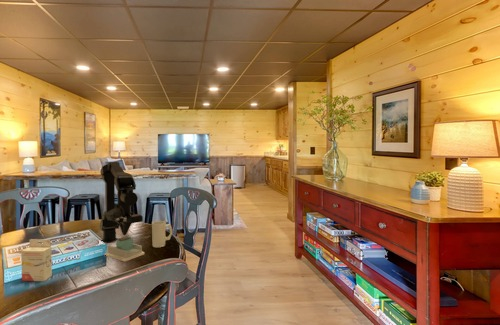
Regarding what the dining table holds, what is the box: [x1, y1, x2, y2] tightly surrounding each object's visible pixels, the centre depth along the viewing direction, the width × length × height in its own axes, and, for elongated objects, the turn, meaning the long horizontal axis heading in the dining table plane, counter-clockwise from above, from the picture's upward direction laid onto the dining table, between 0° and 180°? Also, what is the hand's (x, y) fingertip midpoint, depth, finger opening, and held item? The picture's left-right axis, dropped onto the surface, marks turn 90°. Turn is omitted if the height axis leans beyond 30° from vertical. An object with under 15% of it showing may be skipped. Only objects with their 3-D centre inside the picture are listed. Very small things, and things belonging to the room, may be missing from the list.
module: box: [115, 235, 134, 251], centre depth 142 cm, size 6×4×6 cm, turn 149°
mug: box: [151, 220, 173, 249], centre depth 156 cm, size 10×7×12 cm, turn 103°
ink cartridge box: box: [20, 238, 53, 282], centre depth 116 cm, size 9×5×15 cm, turn 92°
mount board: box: [104, 243, 145, 263], centre depth 143 cm, size 14×11×4 cm
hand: (124, 234), depth 142 cm, fingers closed
